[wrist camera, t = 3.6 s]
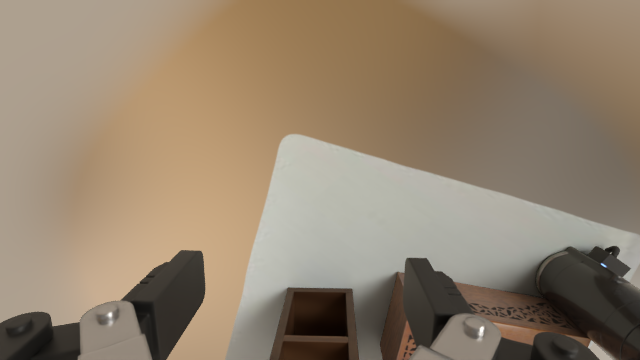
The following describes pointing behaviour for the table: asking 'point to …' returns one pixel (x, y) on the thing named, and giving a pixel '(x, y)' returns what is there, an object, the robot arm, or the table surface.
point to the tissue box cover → (495, 305)
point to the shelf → (316, 326)
